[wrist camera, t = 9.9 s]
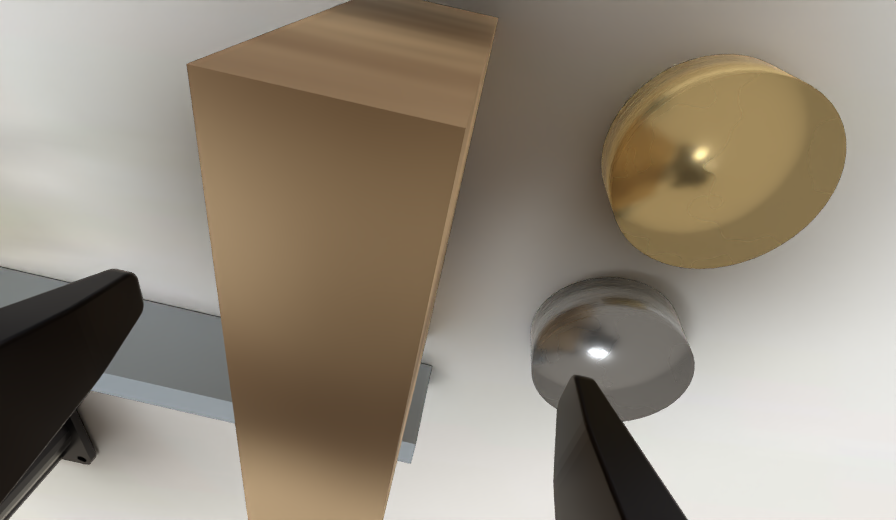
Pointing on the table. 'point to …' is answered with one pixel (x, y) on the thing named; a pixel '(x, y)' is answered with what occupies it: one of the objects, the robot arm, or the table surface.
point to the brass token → (721, 161)
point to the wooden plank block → (333, 235)
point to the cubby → (180, 360)
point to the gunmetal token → (612, 345)
